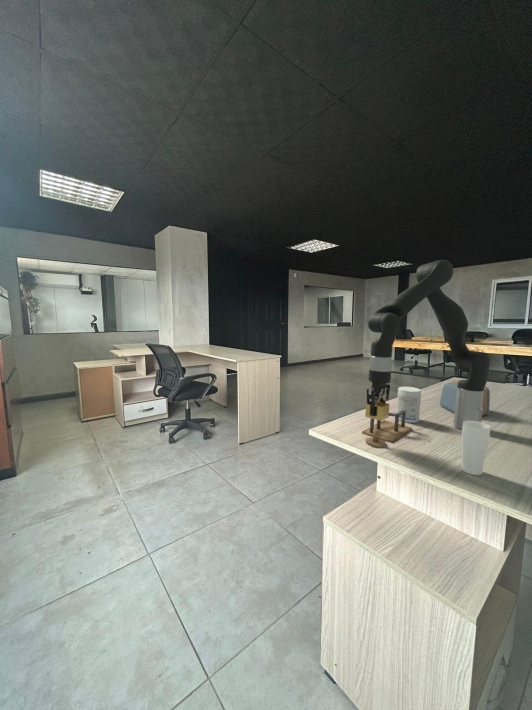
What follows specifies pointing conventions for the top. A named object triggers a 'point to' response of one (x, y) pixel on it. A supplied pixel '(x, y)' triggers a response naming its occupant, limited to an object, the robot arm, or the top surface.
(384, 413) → the yellow open box
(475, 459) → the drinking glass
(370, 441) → the end peg
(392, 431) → the wire board
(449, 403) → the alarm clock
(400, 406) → the supplement tub
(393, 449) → the top surface
